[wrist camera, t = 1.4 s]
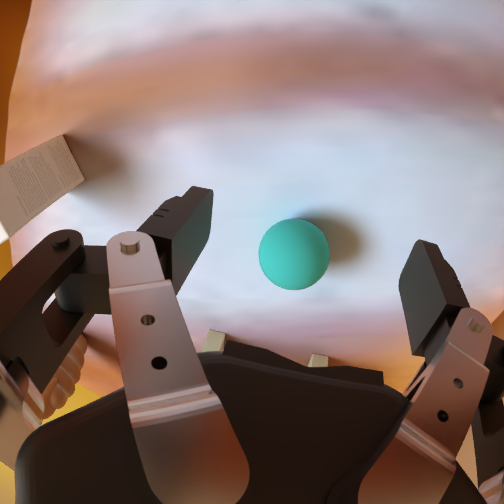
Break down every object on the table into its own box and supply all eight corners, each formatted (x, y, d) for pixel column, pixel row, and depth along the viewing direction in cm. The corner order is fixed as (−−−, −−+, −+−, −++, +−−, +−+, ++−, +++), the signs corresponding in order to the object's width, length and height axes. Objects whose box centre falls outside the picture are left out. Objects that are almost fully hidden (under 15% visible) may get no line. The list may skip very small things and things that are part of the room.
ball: (270, 200, 28) (258, 234, 24) (337, 215, 28) (339, 252, 23) (260, 255, 32) (247, 295, 27) (320, 269, 31) (318, 311, 26)
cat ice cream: (96, 327, 45) (37, 418, 30) (107, 357, 50) (58, 441, 35) (55, 311, 46) (-4, 390, 31) (68, 341, 51) (18, 416, 36)
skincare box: (42, 149, 30) (-36, 195, 20) (63, 133, 28) (-22, 177, 19) (65, 193, 33) (-7, 249, 23) (87, 180, 31) (10, 238, 21)
